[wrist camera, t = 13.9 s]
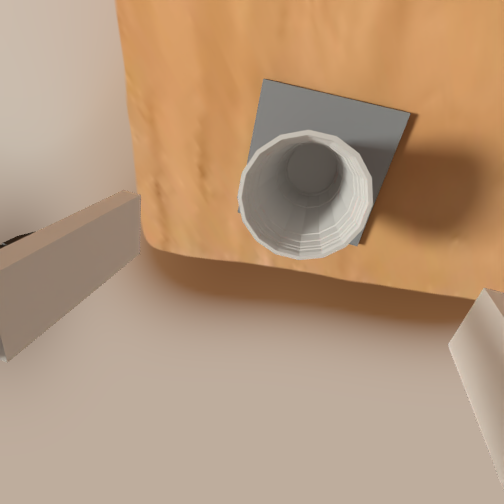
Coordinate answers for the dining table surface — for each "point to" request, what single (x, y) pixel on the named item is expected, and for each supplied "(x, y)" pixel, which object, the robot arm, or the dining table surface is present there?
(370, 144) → the rest mat
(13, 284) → the robot arm
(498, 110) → the dining table surface
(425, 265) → the dining table surface
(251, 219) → the plastic cup
